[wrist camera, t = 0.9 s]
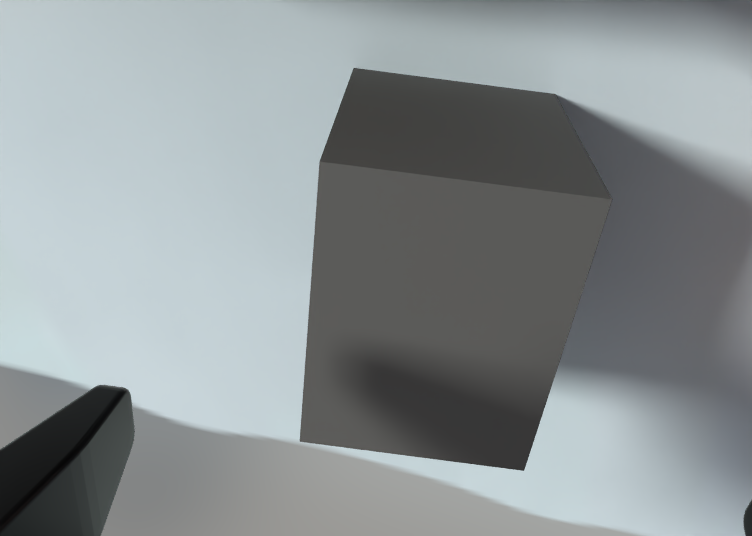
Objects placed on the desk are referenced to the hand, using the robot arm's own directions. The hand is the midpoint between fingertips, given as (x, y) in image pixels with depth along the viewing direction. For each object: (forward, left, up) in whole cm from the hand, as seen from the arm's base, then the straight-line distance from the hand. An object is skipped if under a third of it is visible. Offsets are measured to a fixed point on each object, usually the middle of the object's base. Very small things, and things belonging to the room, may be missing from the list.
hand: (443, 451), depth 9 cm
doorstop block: (0, 0, -8) cm, 8 cm away
